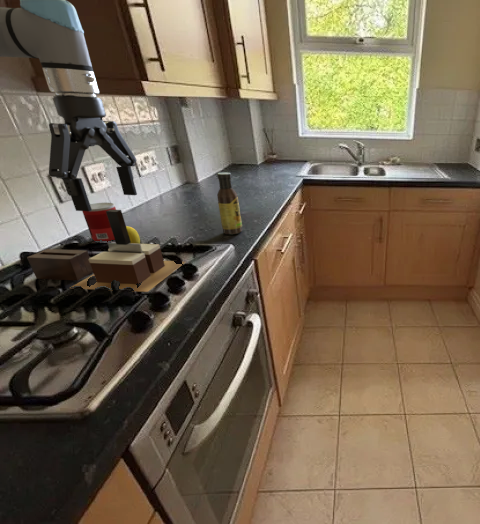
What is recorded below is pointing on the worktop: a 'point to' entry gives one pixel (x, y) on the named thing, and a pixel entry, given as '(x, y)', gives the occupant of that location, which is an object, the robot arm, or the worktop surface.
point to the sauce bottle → (228, 205)
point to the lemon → (133, 235)
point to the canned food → (99, 221)
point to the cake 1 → (120, 267)
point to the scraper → (120, 234)
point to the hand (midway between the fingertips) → (109, 202)
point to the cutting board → (145, 285)
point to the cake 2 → (152, 256)
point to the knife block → (60, 264)
